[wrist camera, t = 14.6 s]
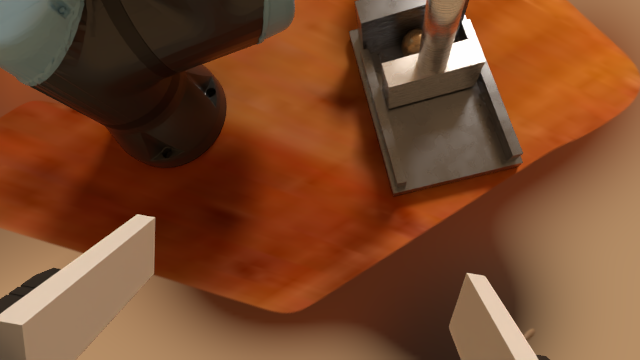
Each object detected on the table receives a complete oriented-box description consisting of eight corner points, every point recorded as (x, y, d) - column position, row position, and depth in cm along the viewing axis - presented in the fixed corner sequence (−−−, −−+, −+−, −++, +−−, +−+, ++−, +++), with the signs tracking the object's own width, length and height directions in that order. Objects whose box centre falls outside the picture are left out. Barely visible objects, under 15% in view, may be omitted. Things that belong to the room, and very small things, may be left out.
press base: (518, 166, 41) (546, 142, 34) (393, 196, 42) (394, 179, 35) (456, 7, 47) (469, -41, 40) (350, 38, 49) (344, -3, 42)
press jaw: (475, 89, 42) (553, -76, 23) (389, 112, 43) (392, -27, 24) (464, 60, 43) (529, -121, 24) (381, 83, 44) (377, -72, 25)
